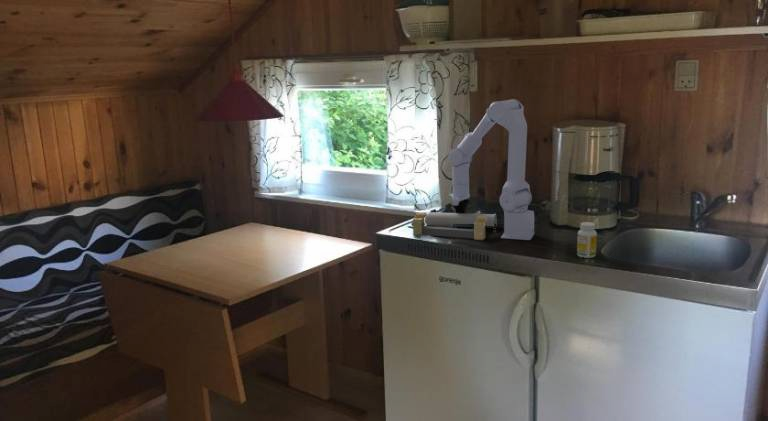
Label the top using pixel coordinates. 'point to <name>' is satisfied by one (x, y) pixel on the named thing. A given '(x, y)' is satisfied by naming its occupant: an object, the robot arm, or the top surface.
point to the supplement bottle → (587, 240)
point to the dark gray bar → (448, 232)
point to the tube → (456, 219)
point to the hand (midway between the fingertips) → (461, 220)
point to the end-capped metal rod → (478, 226)
